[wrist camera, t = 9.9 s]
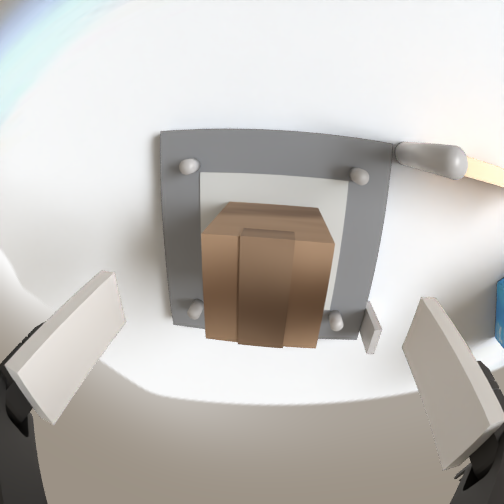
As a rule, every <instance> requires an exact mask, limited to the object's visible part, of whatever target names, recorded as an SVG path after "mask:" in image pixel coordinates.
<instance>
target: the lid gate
mask: <svg viewBox="0 0 504 504" xmlns="http://www.w3.org/2000/svg"><path fill="white" fill-rule="evenodd" d="M467 160H468V168H467V172H466V174H465V175H464V176H466V177H469V178H473V179H477V180H480V181H484V182H487V183H491V184H494V185H497V186H500V187H503V188H504V169H503V168H501V167H498V166H495V165H492V164H489V163H486V162H483V161H480V160H477V159H474V158H471V157H468V156H467Z"/></svg>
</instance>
